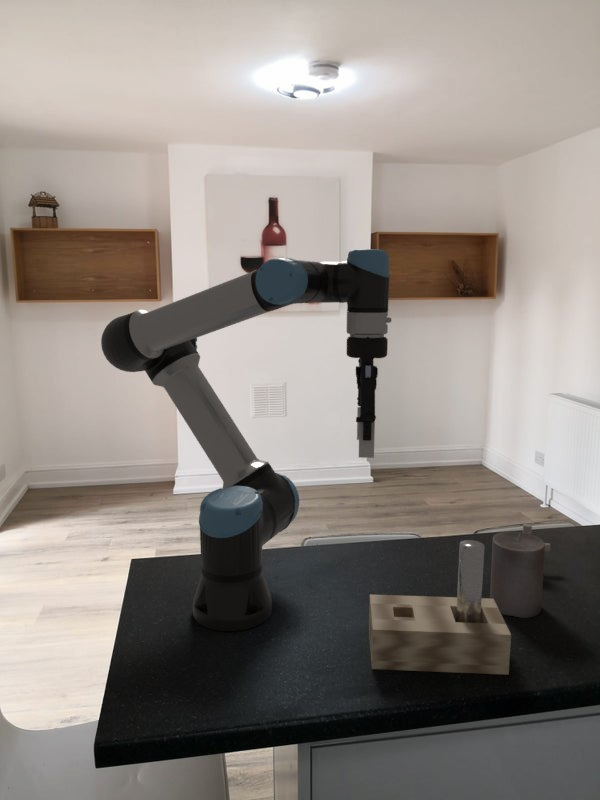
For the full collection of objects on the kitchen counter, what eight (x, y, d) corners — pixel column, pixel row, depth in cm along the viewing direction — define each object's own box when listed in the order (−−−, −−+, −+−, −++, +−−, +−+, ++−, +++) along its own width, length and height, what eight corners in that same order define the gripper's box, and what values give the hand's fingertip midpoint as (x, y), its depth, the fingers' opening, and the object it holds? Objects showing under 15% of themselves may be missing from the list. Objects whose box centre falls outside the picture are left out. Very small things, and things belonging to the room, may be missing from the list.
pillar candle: (518, 591, 130) (521, 522, 127) (552, 613, 121) (557, 539, 118) (479, 599, 126) (481, 529, 124) (511, 623, 118) (515, 547, 115)
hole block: (371, 668, 103) (372, 629, 102) (368, 630, 115) (369, 594, 114) (508, 674, 102) (511, 634, 100) (491, 634, 113) (493, 598, 112)
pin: (457, 650, 106) (462, 549, 103) (453, 637, 110) (457, 539, 107) (481, 651, 105) (486, 549, 102) (476, 638, 109) (481, 540, 106)
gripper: (393, 341, 103) (389, 466, 107) (383, 331, 128) (380, 433, 131) (347, 340, 104) (345, 465, 107) (346, 331, 128) (344, 432, 132)
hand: (364, 448), depth 119 cm, fingers open, 13 cm apart
